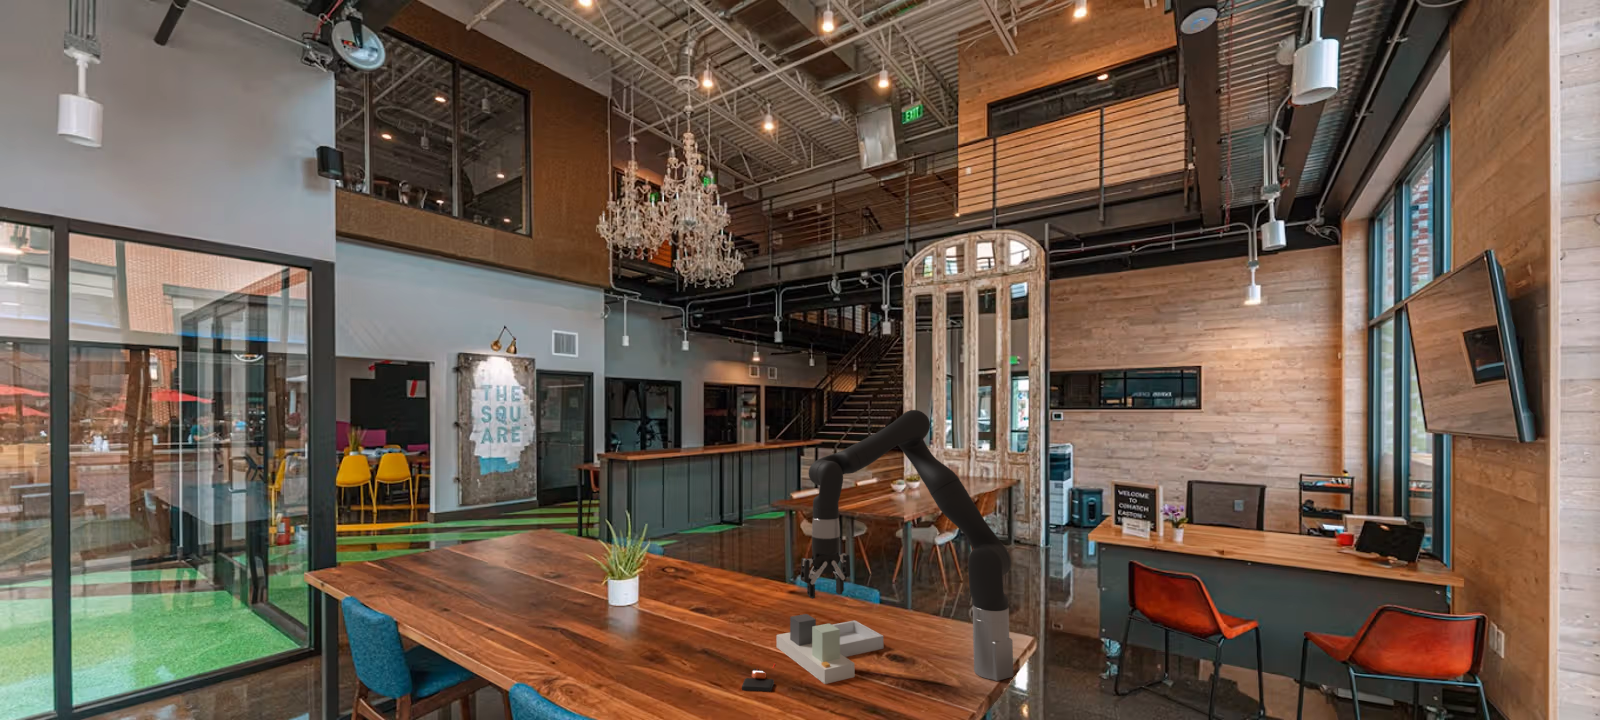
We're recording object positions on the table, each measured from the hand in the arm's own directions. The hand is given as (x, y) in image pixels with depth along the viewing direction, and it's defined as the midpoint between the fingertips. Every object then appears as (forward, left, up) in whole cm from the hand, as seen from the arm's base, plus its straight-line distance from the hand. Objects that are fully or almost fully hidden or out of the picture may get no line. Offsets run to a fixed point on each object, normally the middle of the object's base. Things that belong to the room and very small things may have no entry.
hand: (825, 595), depth 167 cm
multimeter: (+6, +18, -20) cm, 28 cm away
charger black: (+13, 0, -18) cm, 22 cm away
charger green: (0, 0, -18) cm, 18 cm away
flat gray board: (+7, 0, -19) cm, 21 cm away
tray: (+13, -15, -19) cm, 28 cm away
